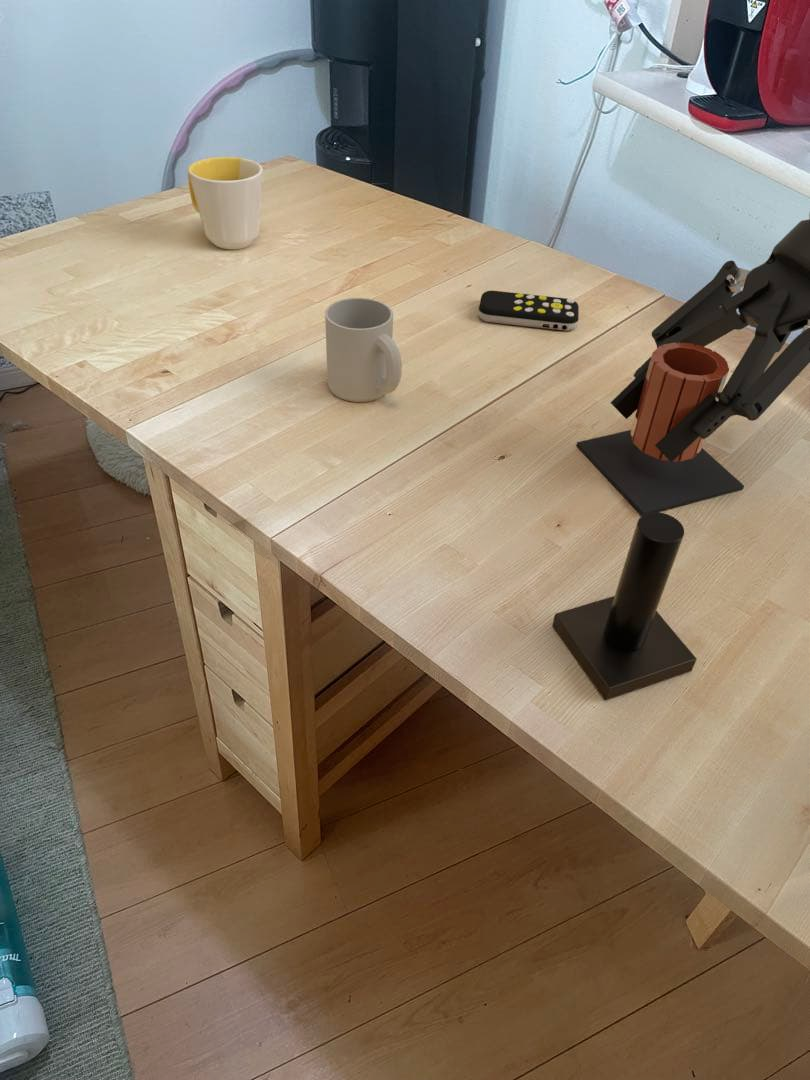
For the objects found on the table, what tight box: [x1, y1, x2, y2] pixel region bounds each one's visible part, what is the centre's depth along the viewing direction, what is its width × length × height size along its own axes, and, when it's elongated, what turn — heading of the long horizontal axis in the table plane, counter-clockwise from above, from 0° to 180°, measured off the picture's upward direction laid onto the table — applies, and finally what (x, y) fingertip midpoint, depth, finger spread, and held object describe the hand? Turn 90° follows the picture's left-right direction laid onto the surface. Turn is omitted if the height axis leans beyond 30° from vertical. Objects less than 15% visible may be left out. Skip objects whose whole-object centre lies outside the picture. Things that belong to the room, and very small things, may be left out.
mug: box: [187, 156, 264, 250], centre depth 117 cm, size 14×10×10 cm
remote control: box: [477, 290, 580, 332], centre depth 105 cm, size 6×13×2 cm, turn 81°
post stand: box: [552, 512, 698, 701], centre depth 60 cm, size 8×8×13 cm
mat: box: [576, 429, 745, 517], centre depth 83 cm, size 12×12×1 cm
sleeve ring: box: [630, 342, 730, 462], centre depth 77 cm, size 7×7×9 cm
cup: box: [324, 297, 403, 403], centre depth 88 cm, size 7×10×9 cm
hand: (640, 431), depth 78 cm, fingers closed on sleeve ring, 7 cm apart
